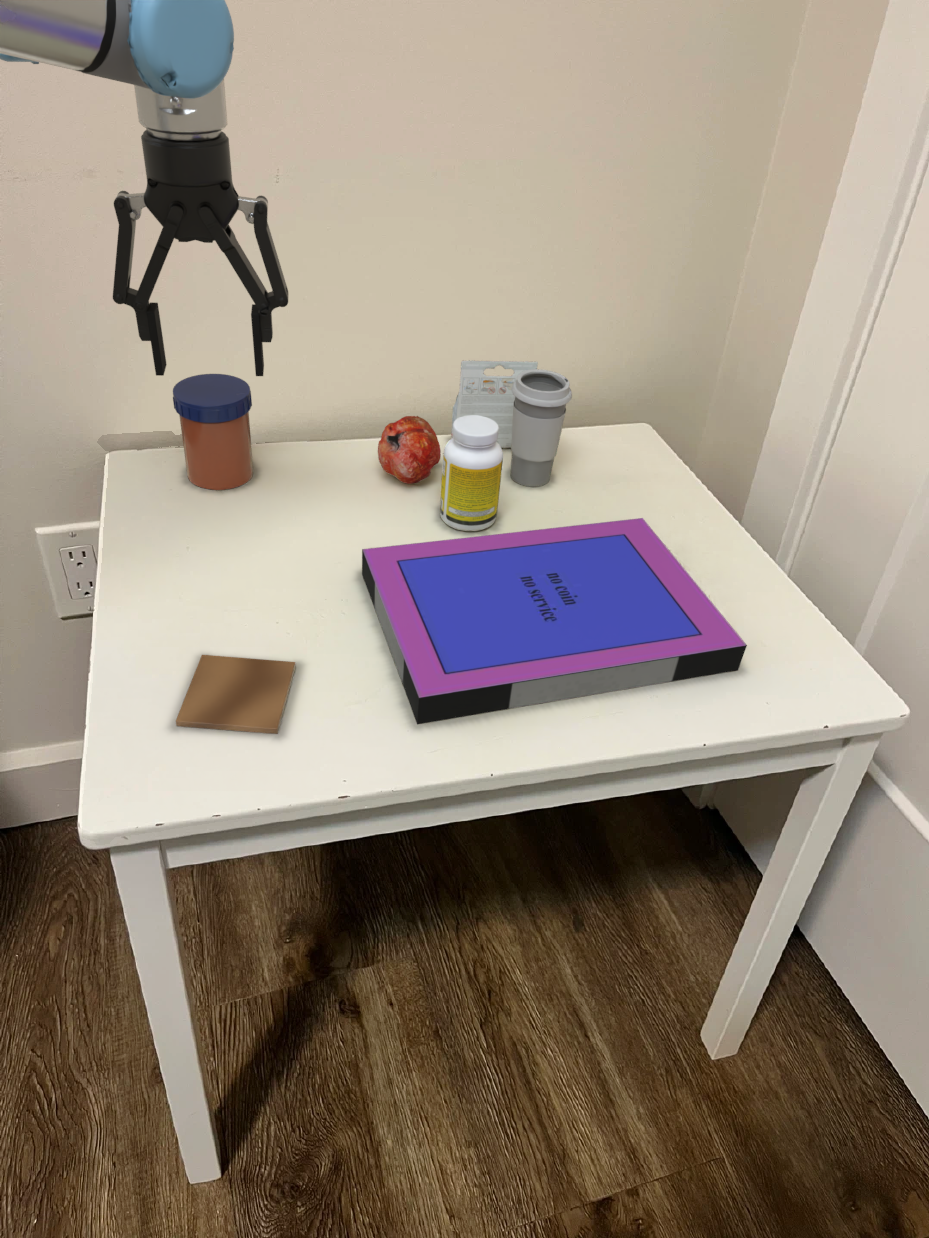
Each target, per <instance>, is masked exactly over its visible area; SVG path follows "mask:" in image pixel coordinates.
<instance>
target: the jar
mask: <svg viewBox="0 0 929 1238" xmlns="http://www.w3.org/2000/svg"><path fill="white" fill-rule="evenodd" d="M178 417H179V423H180V431H181V437H182V446H183V452H184V461H185V469H186V475H187V479H188V480H189V482H190V483H191V484H193V485H194V486H196V487H199V488H201V489H206V490H212V491H222V490H224V491H225V490H231V489H235V488H238V487H242V486H243V485H246V484H247V483H248V482H249V481H251V479H252V478H253V476H254V462H253V450H252V436H251V426H250V425H251V424H250V411H249V412H248V413H246V414H245V415H244V416H242V417H240V418H237V419H235V420H231V421H227V422H220V423H203V422H196V421H192V420H188V419H186V418H184V417H182V416H180V415H179V414H178Z"/></svg>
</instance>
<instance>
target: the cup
mask: <svg viewBox="0 0 929 1238" xmlns="http://www.w3.org/2000/svg"><path fill="white" fill-rule="evenodd" d="M570 386H571V383H570V380H569V379H568V378H567V377H566V376H564V375H563V374H561V373H559V372H556V371H553V370H548V369H541V368H539V369H538V368H537V369H533V370H526V371H523V372H521V373H520V374H519V375H518V376H517V380H516V381H515V382H514V383H513V385H512V388H511V390H512V393H513V394H514V396H515V401H514V405H513V422H512V439H511V448H510V450H511V459H510V460H511V461H510V473H509V475H510V478H511V479H512V481H513V482H515V483H516V484H519V485H521V486H524V487H528V488H529V487H530V488H538V487H543V486H545V485H547V484H548V483H549V482H550V480H551V475H552V471H553V465H554V461H555V458H556V456H557V454H558V453H557V452H558V449H559V446H560V445H559V444H560V440H561V435H562V431H563V426H564V421H565V418H566V412H567V408H566V406H567V404H569V403H570V402H571V401H572V400H573V399H572V398H573V392H572V389H571V388H570Z"/></svg>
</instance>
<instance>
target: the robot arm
mask: <svg viewBox="0 0 929 1238" xmlns="http://www.w3.org/2000/svg"><path fill="white" fill-rule="evenodd" d="M234 41H235V31H234V24H233V19H232V15H231V13H230V10H229V7H228V4H227V2H226V0H0V60H1V61H4V62H7V63H8V62H9V63H31V64H33V65H39V64H45V65H49V66H53V67H57V68H58V67H59V68H63V69H67V70H72V71H76V72H79V73H82V74H86V75H90V76H93V77H97V78H103V79H108V80H111V81H116V82H121V83H124V84H129V85H133V86H134V95H135V102H136V103H135V104H136V111H137V119H138V122H139V124H140V125H141V126H142V127H143V128H145V130H144V131H143V133H142V134H141V136H140V138H141V139H140V140H141V146H142V154H143V161H144V169H145V176H146V188H145V191H144V192H138V193H129V192H128V191H127V190H119V192H117V194H116V197H115V199H113V207H114V211H115V215H116V219H117V223H118V231H117V232H118V233H117V242H116V252H115V253H116V254H115V265H114V277H113V288H112V300H113V302H114V303H116V304H118V305H126V306H129V307H131V308H132V309H133V310H134V313H135V318H136V319H135V320H136V325H137V331H138V337H139V338H140V341H141V342H150V344H151V352H152V358H153V359H152V360H153V366H154V371H155V376H162V377H163V376H164V375H165V372H166V368H167V359H166V351H165V345H164V338H163V331H162V322H161V315H160V308H159V303H158V302H150V298H151V296H152V294H153V292H154V289H155V286H156V284H157V281H158V280H159V277H160V274H161V272H162V269H163V267H164V264H165V261H166V259H167V257H168V254H169V252H170V250H171V247H172V245H173V243H174V240H177V241H178V243H189V242H194V241H196V242H197V241H198V242H201V243H204V244H205V243H207V244H213V243H214V241H215V244H216V245H217V246H218V248H219V250H220V251H221V253H223V254H224V256H225V257H226V259H227V260H228V262H229V264H230V265H231V267H232V269H233V270H234V272H235V274H236V275H237V277H238V278H239V281H240V282H241V283H242V286H243V287H244V288H245V291H247V293H248V295H249V297H250V298H251V300H252V302H253V303H254V304H251V310H250V318H251V319H250V320H251V329H252V330H251V332H252V346H253V356H254V357H253V359H254V371H255V377H264V370H265V361H264V360H265V359H264V347H263V346H264V344H263V343H271V342H272V340H273V338H274V337H273V336H274V331H273V315H272V313H273V311H274V310H275V309H278V308H280V307H281V308H285V307H287V306H288V304H289V288H288V286H287V282H286V279H285V276H284V272H283V269H282V266H281V262H280V259H279V256H278V252H277V248H276V246H275V242H274V239H273V236H272V233H271V229H270V225H269V223H268V213H269V201H268V198H267V197H266V196H264V195H258V196H256V198H255V197H247V196H241V195H239V194H238V192H237V191H236V188H235V187H234V184H233V174H232V161H231V149H230V139H229V136H228V135H227V134H226V133H225V132H224V131H223V130H224V129H225V128H226V127H227V126H228V114H227V113H228V111H227V99H226V89H225V88H226V87H225V77H226V76H227V74H228V73H229V70H230V66H231V64H232V60H233V53H234V49H235V47H234V44H235V43H234ZM144 208H147V210H148V211H149V212H150V213H151V214H152V216H153V217H154V218H155V219H156V221H158V223H159V224H160V225H161V226H162V229H161V231H160V233H159V236H158V239H157V241H156V243H155V246H154V249H153V251H152V254H151V256H150V259H149V262H148V264H147V266H146V269H145V271H144V274H143V277H142V279H141V281H140V284H139V287H138V289H135V288H132V287H131V278H132V277H131V276H132V267H133V257H134V247H135V237H136V228H137V227H136V226H137V221H138V220H139V219H140V218H141V216H142V213H143V209H144ZM238 211H241V212H242V214H243V215H244V217H245V220H246V222H247V223H248V224H251V225H253V233H254V236H255V239H256V242H257V246H258V250H259V252H260V255H261V258H262V262H263V264H264V268H265V272H266V274H267V275H266V276H267V278H268V281H269V284H270V287H271V291H269V292H268V289H266V287H265V285H264V283H263V281H262V280H261V278H260V276H259V275H258V273H257V271H256V270H255V268H254V266H253V265H252V262H251V261H250V260H249V258H248V257H247V255H246V253H245V251H244V250H243V248H242V246H241V245H240V242H239V241H238V240H237V236H236V234H235V232H234V230H233V229H232V227H231V225H230V223H231V222H232V220H233V218H234V217H235V215H236V214H237V212H238Z"/></svg>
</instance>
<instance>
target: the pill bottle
mask: <svg viewBox="0 0 929 1238" xmlns="http://www.w3.org/2000/svg"><path fill="white" fill-rule="evenodd" d="M451 431H452V437H453V438H452V437H451V438H450V440H448V441H447V443H446V444H445V446H444V448H443V454H442V469H441V470H442V472H441V483H440V501H439V502H440V503H439V515H440V518H441V520H442V522H444V524H446V525H447V526H448V527H451V528H452V529H454V530H458V531H462V532H463V531H464V532H477V531H483V530H485V529H488V528H490V527H491V526H493V524H494V523H495V522H496V519H497V515H498V506H499V500H500V499H499V498H500V490H501V489H500V488H501V480H502V471H503V460H504V452H503V449H502V448H501V447H500V445H499V444H498V443H497V439H498V432H499V427H498V424H497V423H496V422H495V421H493V420H492V419H489V418H487V417H483V416H478V415H467V416H462V417H459V418H457V419H456V420H455V421H454V423H453V429H452V428H451Z"/></svg>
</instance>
